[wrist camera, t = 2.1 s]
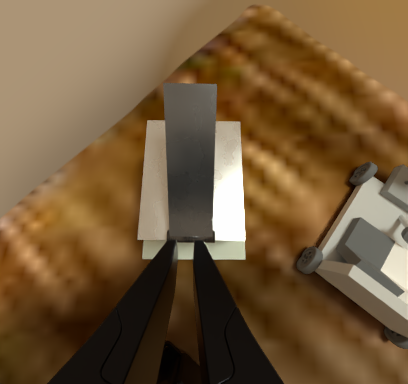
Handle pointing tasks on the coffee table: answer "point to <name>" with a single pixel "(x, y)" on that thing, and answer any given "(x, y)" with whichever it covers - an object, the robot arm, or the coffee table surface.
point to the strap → (190, 160)
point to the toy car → (370, 249)
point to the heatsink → (223, 184)
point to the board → (185, 250)
